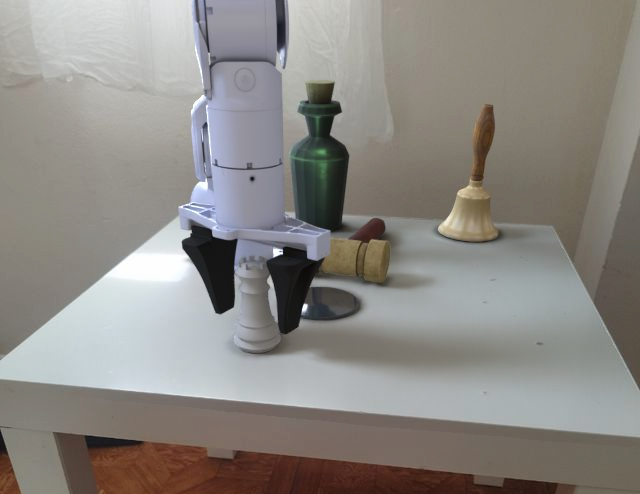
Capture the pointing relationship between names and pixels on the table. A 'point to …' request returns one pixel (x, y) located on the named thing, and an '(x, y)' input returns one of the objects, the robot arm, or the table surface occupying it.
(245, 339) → the rook chess piece
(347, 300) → the coaster
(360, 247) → the gavel
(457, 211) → the hand bell
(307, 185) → the potion bottle
